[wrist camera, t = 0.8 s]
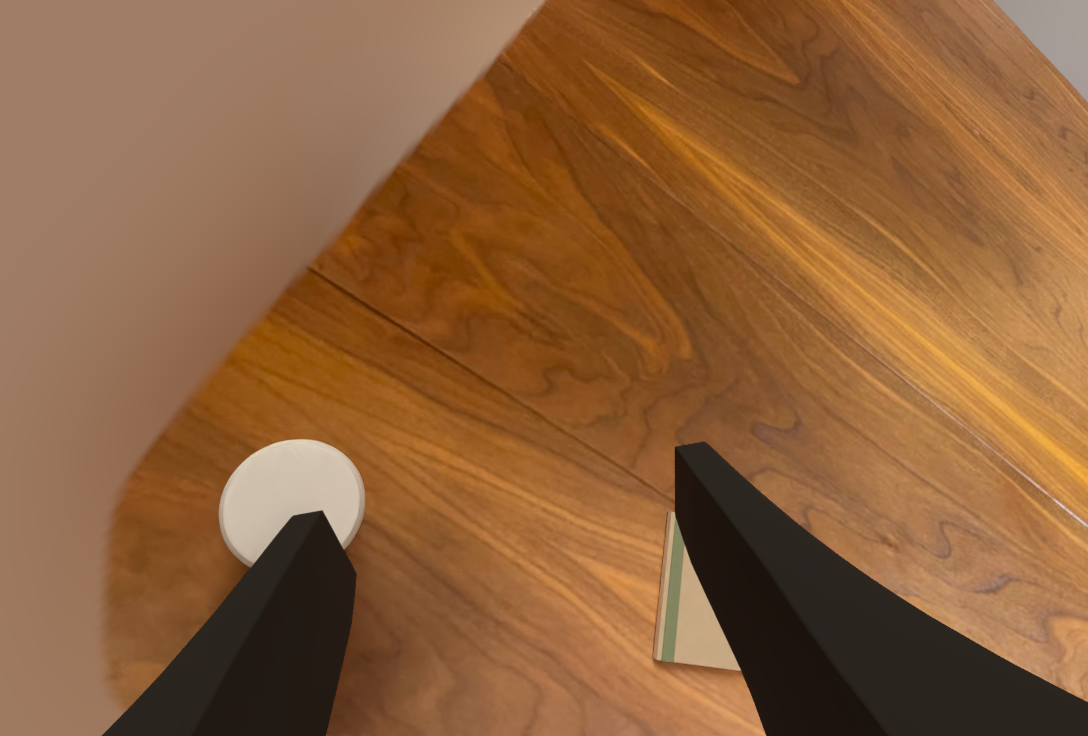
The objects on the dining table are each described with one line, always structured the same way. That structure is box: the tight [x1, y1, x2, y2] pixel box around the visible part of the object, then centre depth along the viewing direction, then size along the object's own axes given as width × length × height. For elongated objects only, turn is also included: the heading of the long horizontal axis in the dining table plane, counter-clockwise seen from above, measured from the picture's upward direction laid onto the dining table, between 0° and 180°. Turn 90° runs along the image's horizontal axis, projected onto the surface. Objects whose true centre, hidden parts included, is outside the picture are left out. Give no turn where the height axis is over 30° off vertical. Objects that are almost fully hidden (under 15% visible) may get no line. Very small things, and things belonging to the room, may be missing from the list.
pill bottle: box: [219, 439, 365, 568], centre depth 20 cm, size 5×5×8 cm
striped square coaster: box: [653, 512, 741, 671], centre depth 31 cm, size 8×8×1 cm
